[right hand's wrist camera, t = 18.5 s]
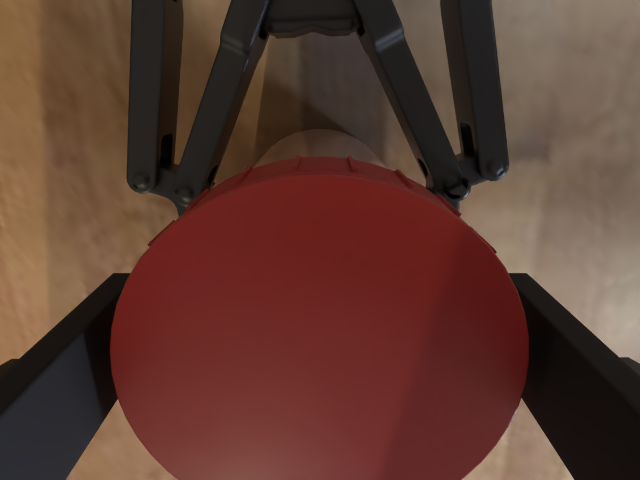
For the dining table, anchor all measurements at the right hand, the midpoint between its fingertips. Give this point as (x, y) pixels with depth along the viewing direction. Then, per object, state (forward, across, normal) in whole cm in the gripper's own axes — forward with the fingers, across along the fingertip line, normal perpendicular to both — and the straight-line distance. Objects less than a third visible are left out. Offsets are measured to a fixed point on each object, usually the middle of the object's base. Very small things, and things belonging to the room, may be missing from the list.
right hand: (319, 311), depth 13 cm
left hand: (+7, 0, -5) cm, 9 cm away
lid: (-3, 0, 0) cm, 3 cm away
